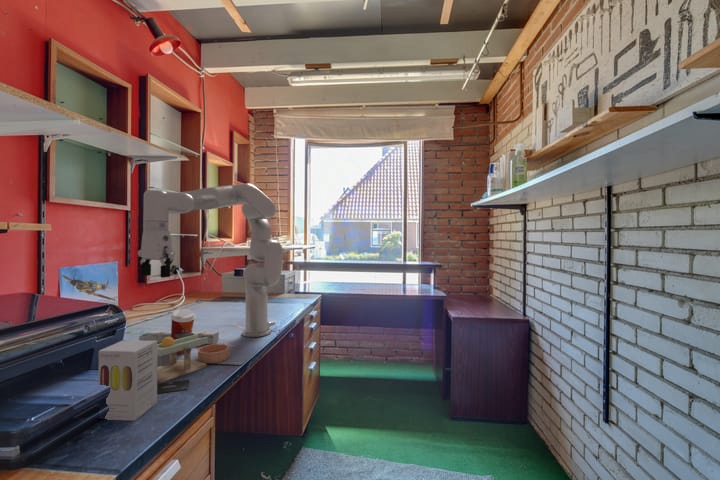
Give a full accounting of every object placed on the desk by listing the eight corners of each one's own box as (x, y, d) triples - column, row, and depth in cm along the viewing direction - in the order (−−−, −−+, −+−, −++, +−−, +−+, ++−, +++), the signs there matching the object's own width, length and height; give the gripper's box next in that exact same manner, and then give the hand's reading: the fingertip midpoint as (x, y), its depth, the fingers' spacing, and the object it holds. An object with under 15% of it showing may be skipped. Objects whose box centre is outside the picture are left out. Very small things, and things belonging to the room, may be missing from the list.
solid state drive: (151, 386, 103) (151, 384, 103) (189, 381, 107) (189, 379, 107) (147, 397, 97) (147, 394, 97) (187, 391, 100) (187, 388, 100)
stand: (187, 360, 124) (187, 337, 124) (206, 366, 118) (206, 343, 118) (142, 374, 111) (142, 349, 111) (161, 382, 105) (161, 356, 105)
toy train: (145, 341, 146) (145, 329, 146) (218, 342, 145) (218, 330, 145) (137, 344, 142) (137, 332, 142) (213, 346, 140) (213, 334, 140)
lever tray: (186, 344, 130) (186, 329, 130) (210, 352, 122) (210, 336, 122) (136, 358, 115) (136, 341, 115) (160, 367, 107) (160, 349, 107)
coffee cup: (183, 357, 129) (188, 320, 126) (162, 352, 129) (166, 315, 126) (196, 346, 137) (200, 311, 134) (175, 341, 137) (179, 306, 134)
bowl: (217, 351, 133) (217, 342, 133) (235, 356, 128) (235, 347, 128) (191, 359, 125) (191, 349, 125) (209, 365, 119) (209, 355, 119)
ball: (170, 345, 115) (170, 334, 115) (176, 347, 113) (176, 336, 113) (159, 348, 112) (159, 337, 112) (165, 350, 110) (165, 339, 110)
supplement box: (96, 420, 84) (96, 350, 83) (122, 402, 93) (122, 339, 92) (135, 421, 83) (135, 351, 83) (158, 402, 93) (158, 339, 92)
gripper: (183, 227, 120) (182, 276, 120) (149, 227, 127) (148, 274, 127) (163, 226, 113) (162, 279, 113) (128, 226, 120) (128, 276, 120)
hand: (155, 276), depth 120 cm, fingers open, 9 cm apart
